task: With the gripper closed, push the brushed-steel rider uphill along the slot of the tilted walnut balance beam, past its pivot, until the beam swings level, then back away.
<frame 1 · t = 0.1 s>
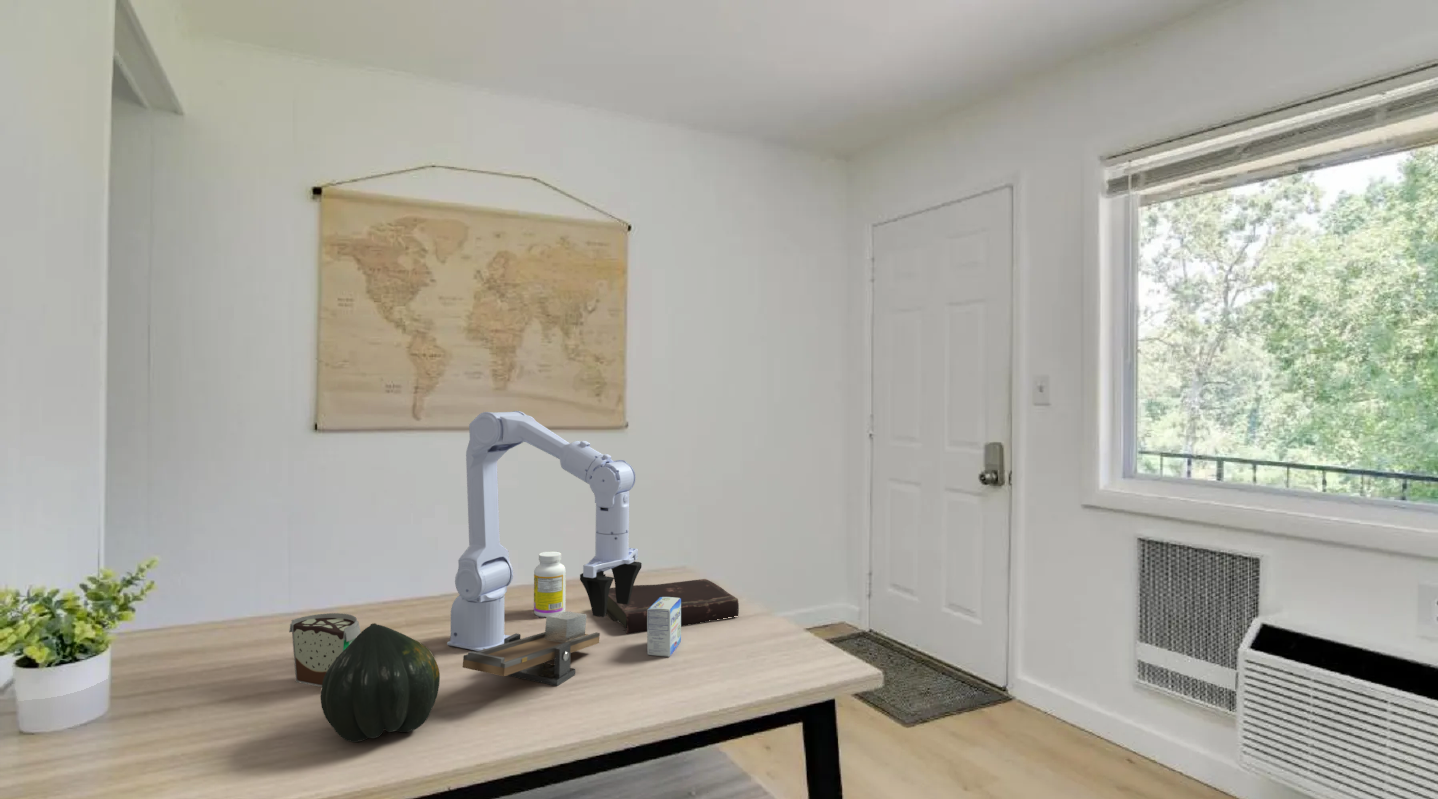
hand: (611, 609, 121), 10 cm above the table, tool pointing down, fingers open, 7 cm apart
squash: (380, 730, 99), on the table
stand: (536, 674, 118), on the table
food container: (333, 680, 115), on the table
medicine box: (664, 650, 130), on the table
supplement bottle: (549, 614, 150), on the table
diary: (668, 616, 151), on the table
beam: (537, 646, 118), point 5 cm above the table, hinge at -7.6°, touching rider
rider: (564, 638, 125), point 4 cm above the table, tilted 8°, touching beam
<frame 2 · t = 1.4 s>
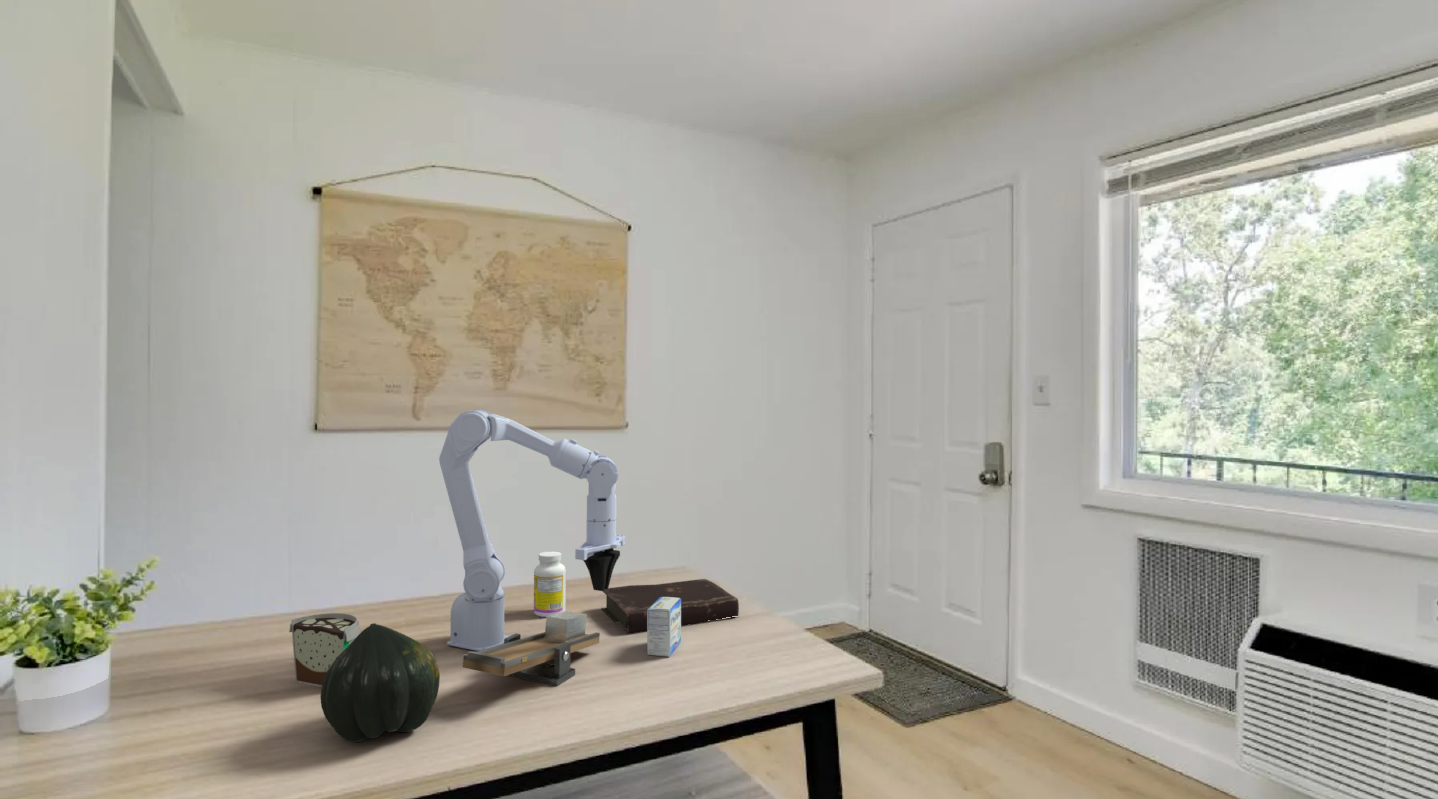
hand: (600, 589, 136), 9 cm above the table, tool pointing down, fingers closed
nothing on the table moved.
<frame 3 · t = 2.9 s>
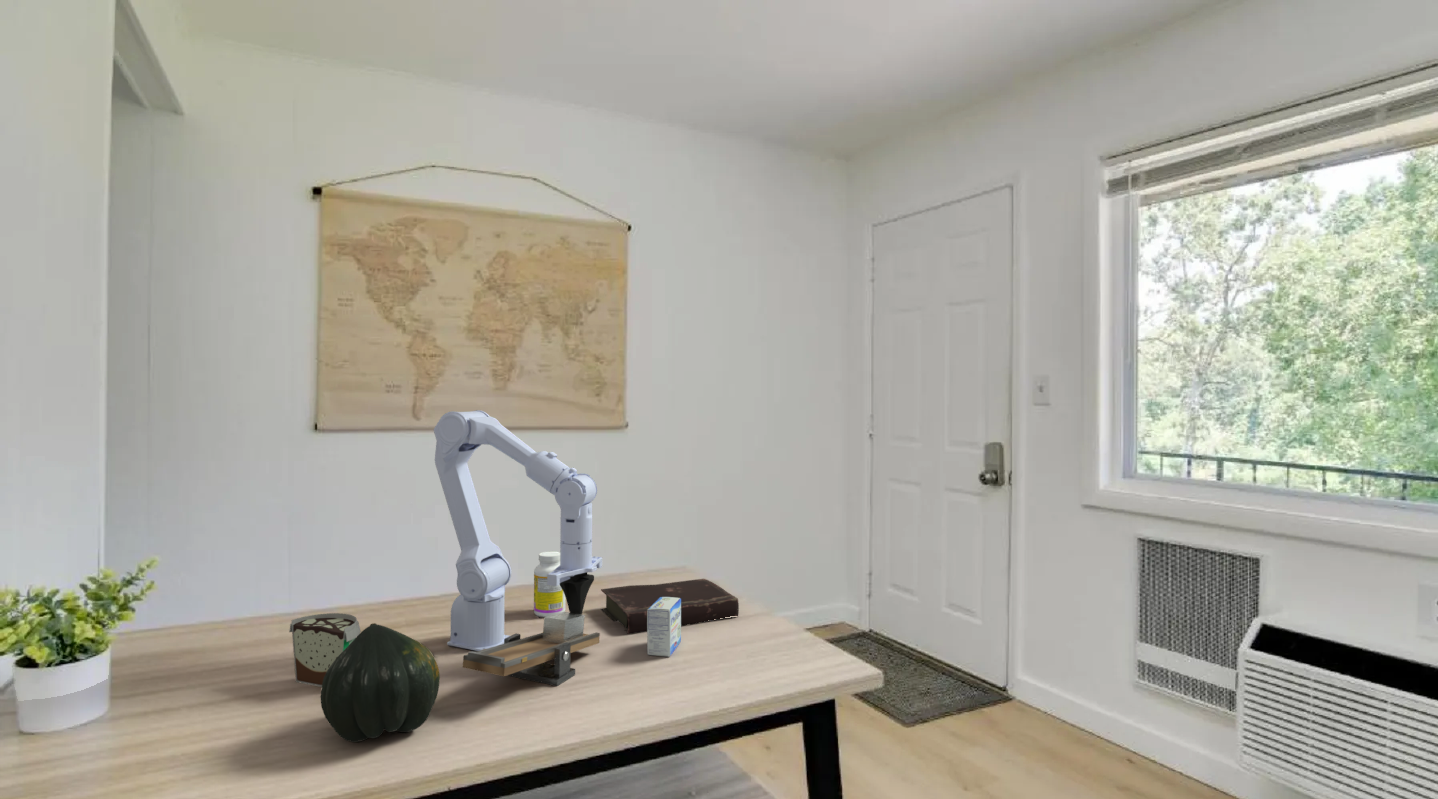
hand: (575, 615, 128), 7 cm above the table, tool pointing down, fingers closed
rider: (562, 639, 125), point 4 cm above the table, tilted 8°, touching beam, gripper
everything else where it was.
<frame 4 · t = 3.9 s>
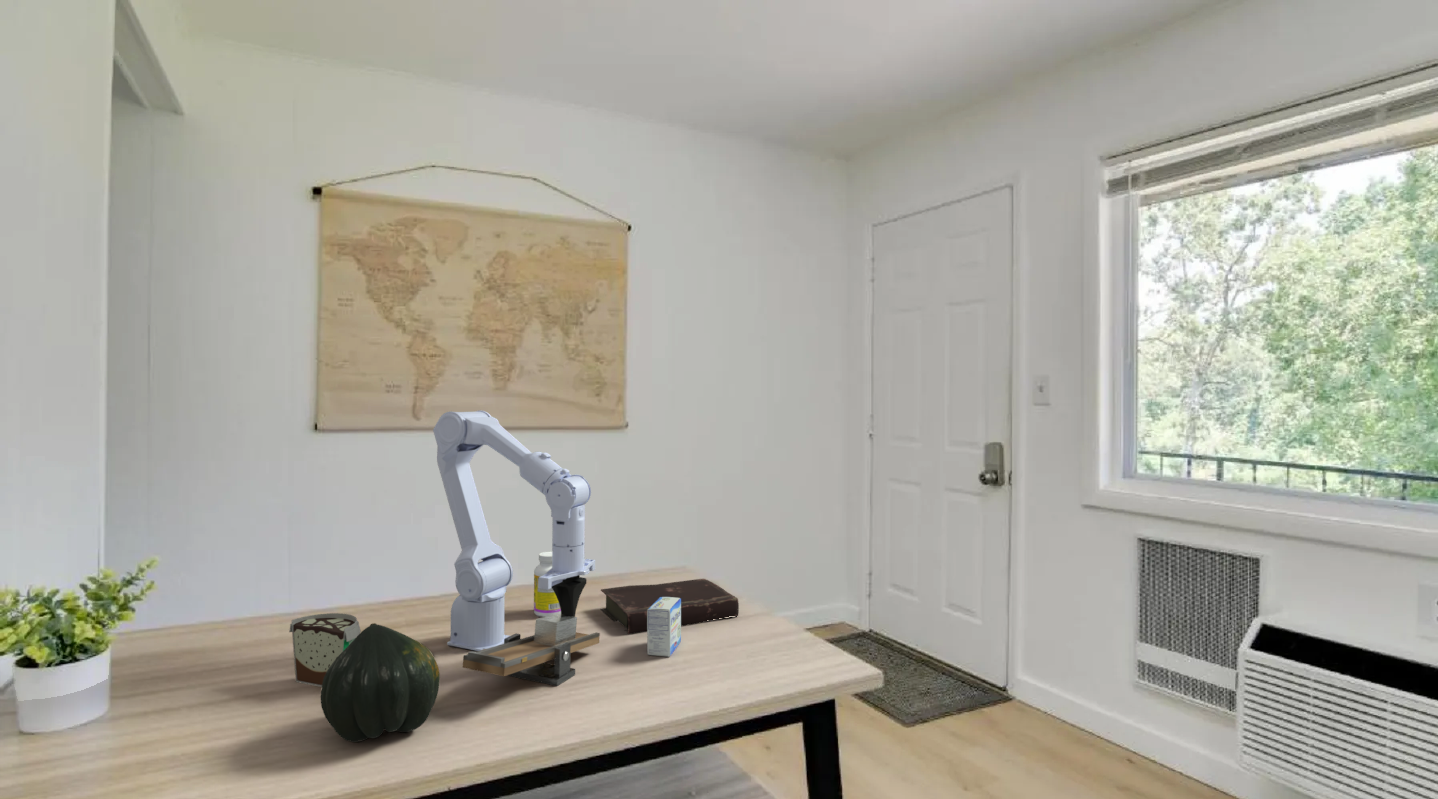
hand: (568, 619, 126), 7 cm above the table, tool pointing down, fingers closed, pressing on rider
rider: (554, 641, 122), point 4 cm above the table, tilted 8°, touching beam, gripper
everything else where it was.
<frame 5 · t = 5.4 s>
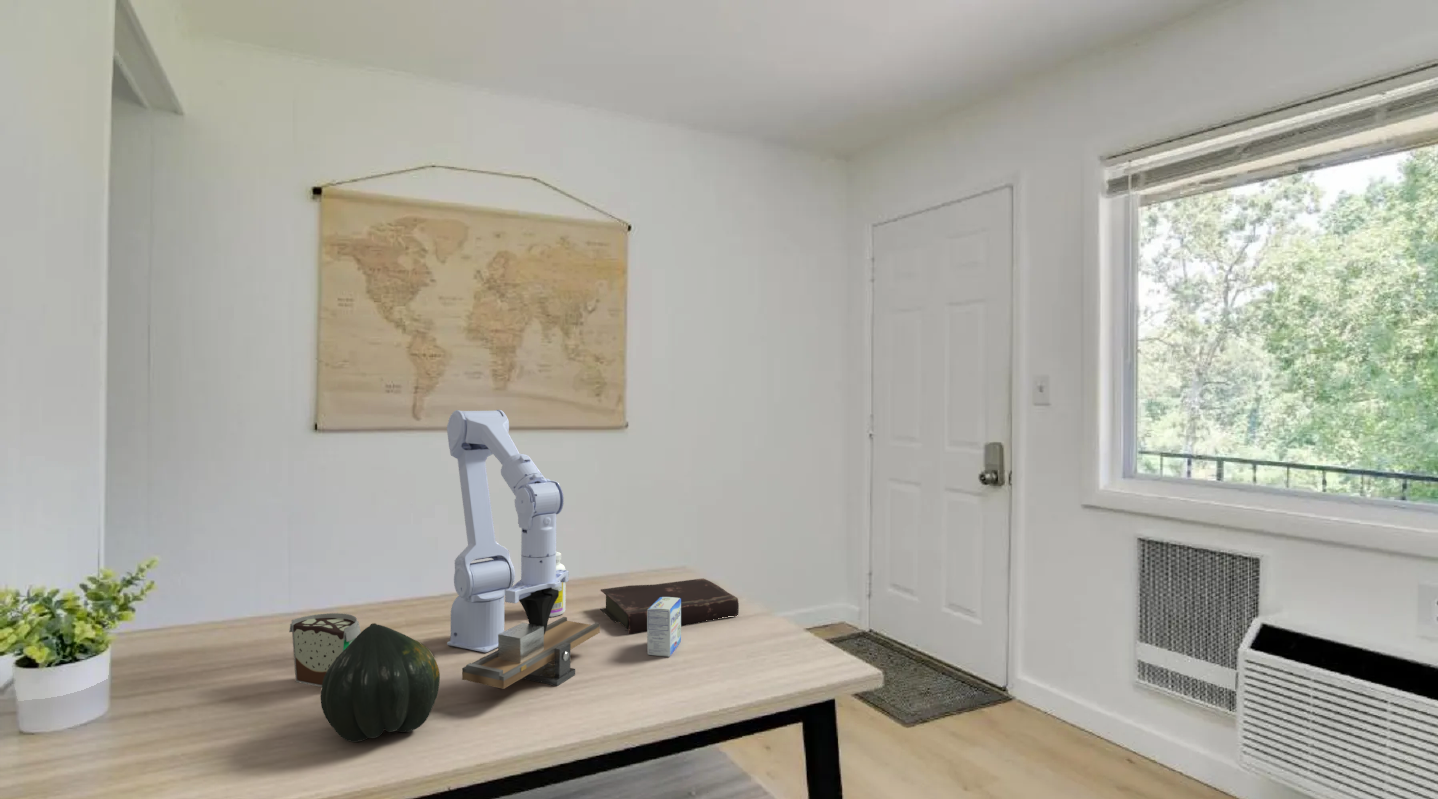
hand: (538, 634, 118), 7 cm above the table, tool pointing down, fingers closed
beam: (537, 647, 118), point 5 cm above the table, hinge at 0.6°
rider: (521, 654, 115), point 5 cm above the table, touching gripper
everything else where it was.
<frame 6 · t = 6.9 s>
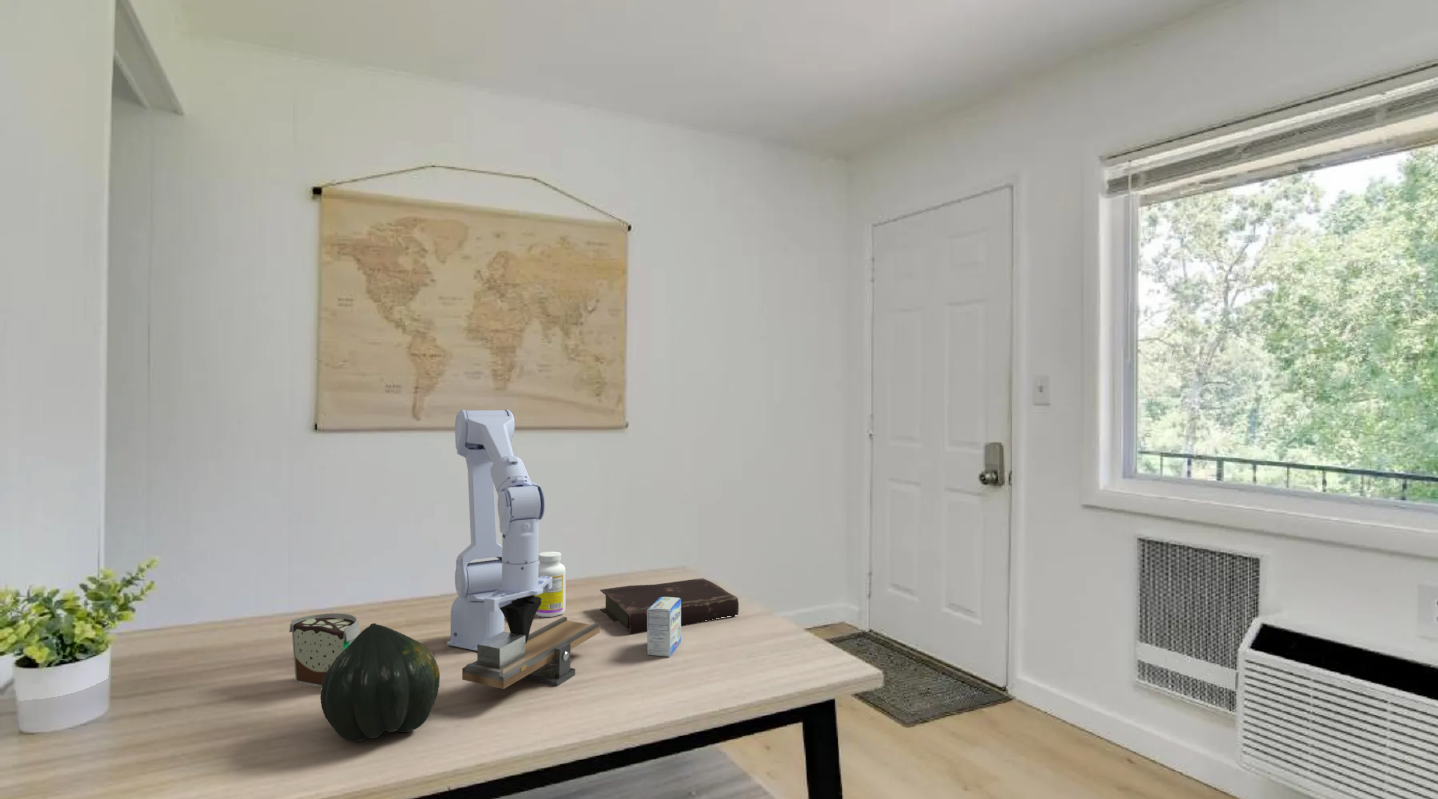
hand: (519, 643, 114), 7 cm above the table, tool pointing down, fingers closed
beam: (537, 647, 118), point 5 cm above the table, hinge at 0.7°, touching rider
rider: (501, 664, 110), point 5 cm above the table, touching beam, gripper
everything else where it was.
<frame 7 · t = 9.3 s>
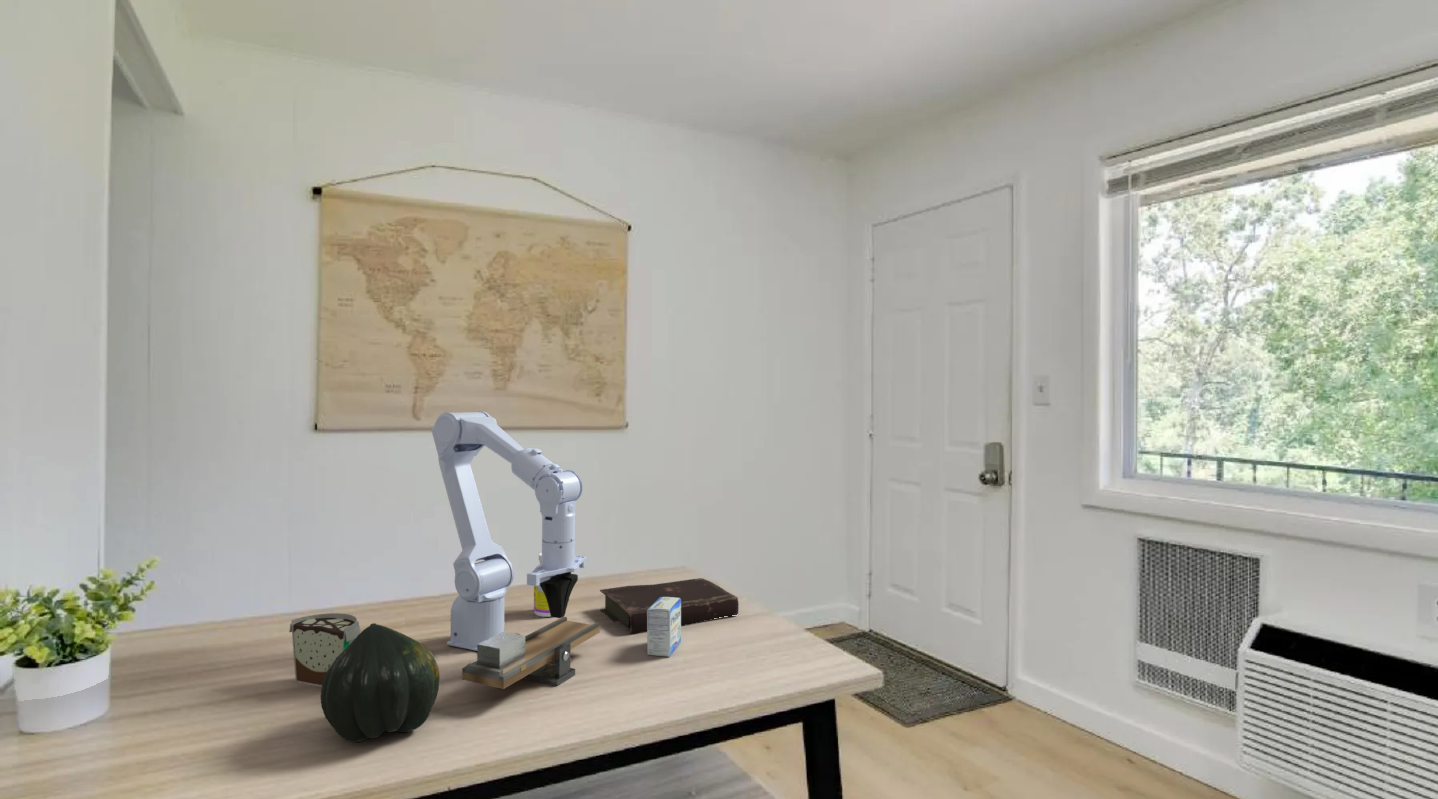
hand: (557, 616, 124), 8 cm above the table, tool pointing down, fingers closed
rider: (501, 665, 110), point 4 cm above the table, touching beam
everything else where it was.
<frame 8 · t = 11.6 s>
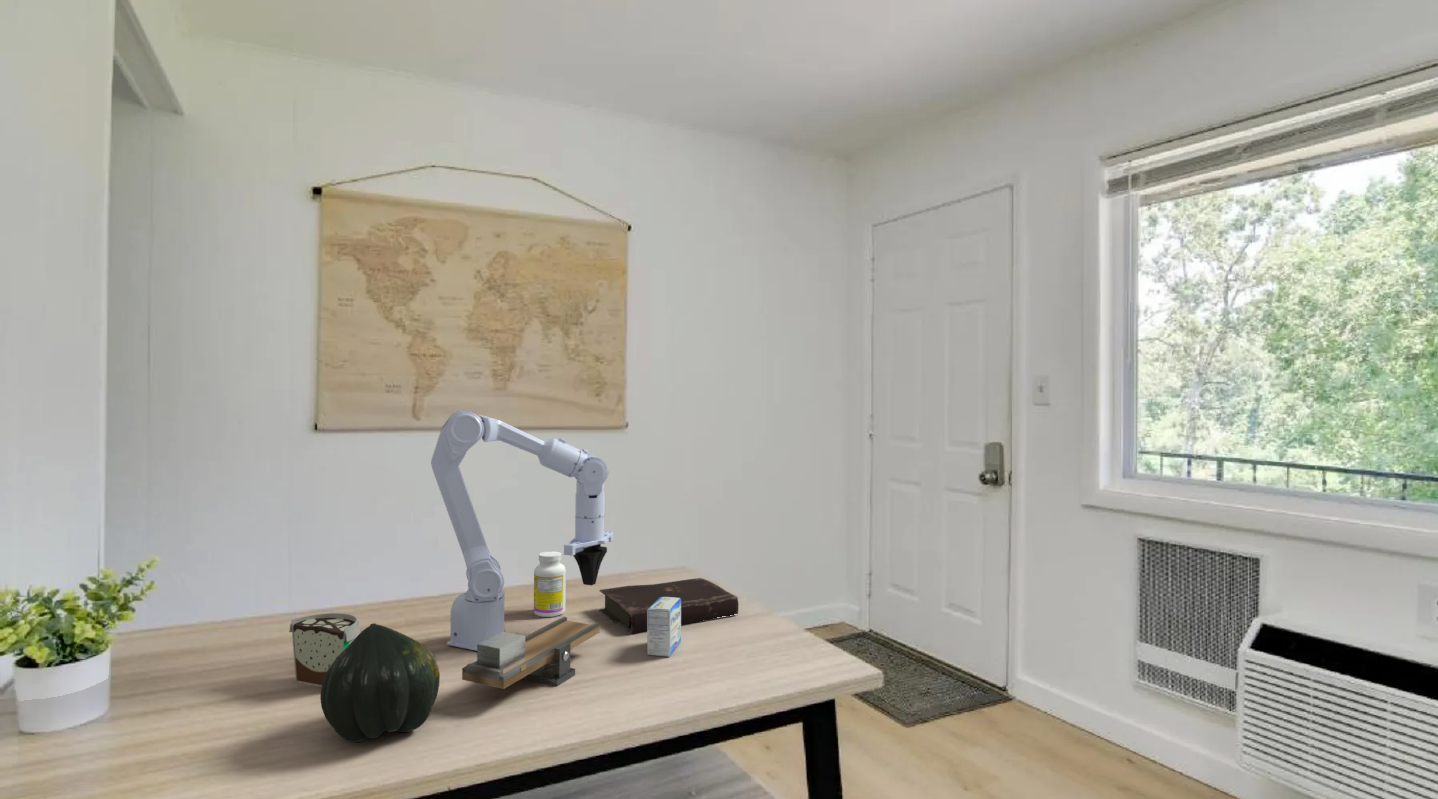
hand: (589, 584, 139), 9 cm above the table, tool pointing down, fingers closed
nothing on the table moved.
at the end: beam at +1° (first picture: -8°); rider inside the target area on the stand (0.3 cm from its centre), point 4.5 cm above the stand's base; the gripper is holding nothing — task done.
